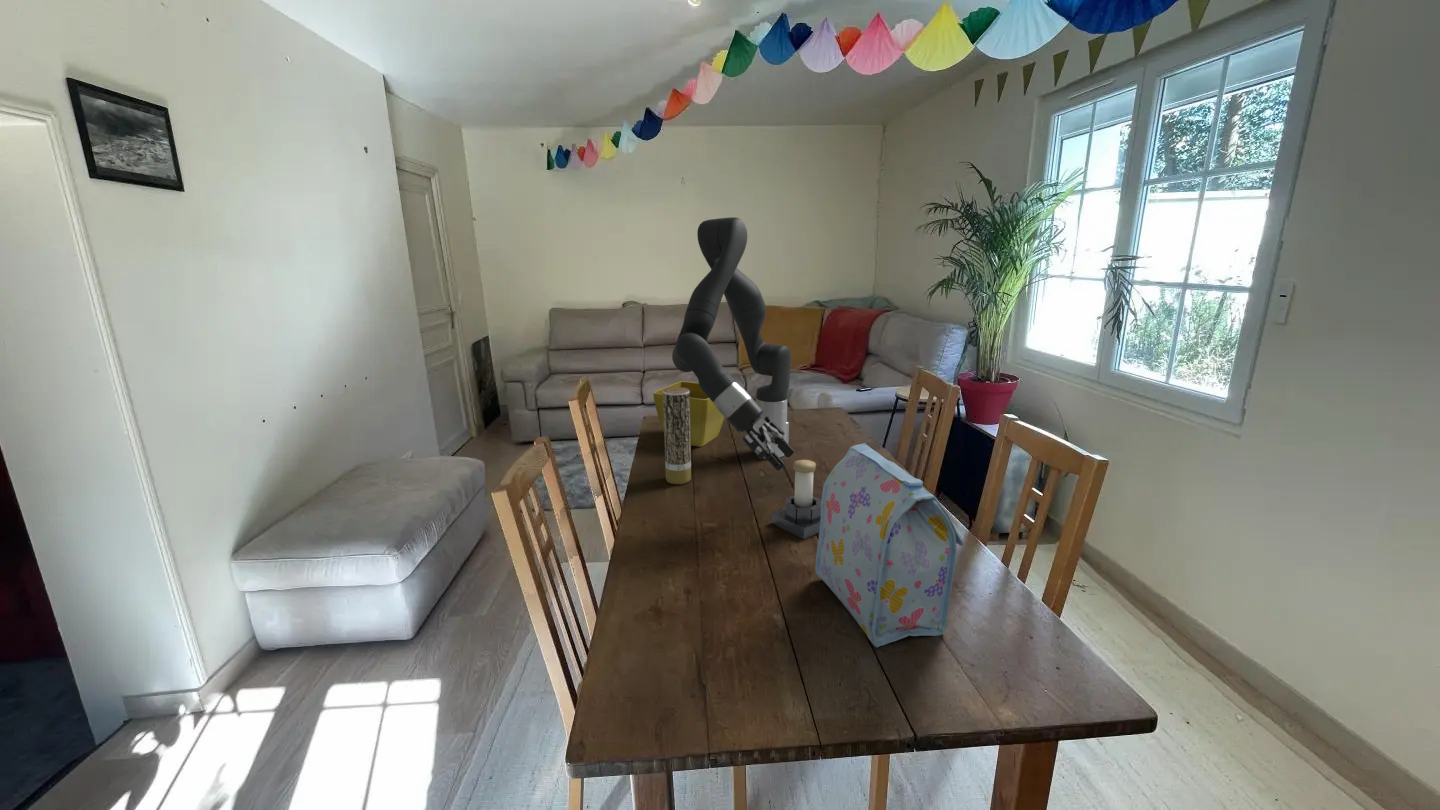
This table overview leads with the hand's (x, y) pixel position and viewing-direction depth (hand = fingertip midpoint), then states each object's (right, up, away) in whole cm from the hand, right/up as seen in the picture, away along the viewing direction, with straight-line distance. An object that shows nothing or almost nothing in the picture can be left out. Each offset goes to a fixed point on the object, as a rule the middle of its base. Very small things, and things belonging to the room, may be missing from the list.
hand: (786, 461), depth 130 cm
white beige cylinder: (+4, -12, +2) cm, 13 cm away
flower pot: (-23, +1, +62) cm, 66 cm away
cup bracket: (+4, -14, +2) cm, 15 cm away
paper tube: (-26, -8, +27) cm, 39 cm away
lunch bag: (+13, -23, -28) cm, 38 cm away
